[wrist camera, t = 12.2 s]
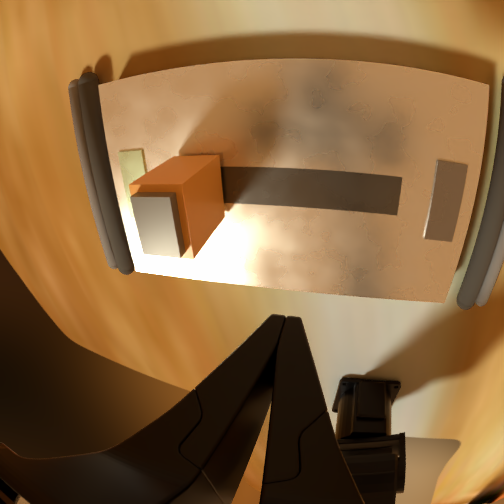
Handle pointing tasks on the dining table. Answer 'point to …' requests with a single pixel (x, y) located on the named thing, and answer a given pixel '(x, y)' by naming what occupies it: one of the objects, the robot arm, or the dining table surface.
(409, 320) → the dining table surface
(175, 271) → the faceplate
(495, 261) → the cord
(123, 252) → the cord
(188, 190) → the block
